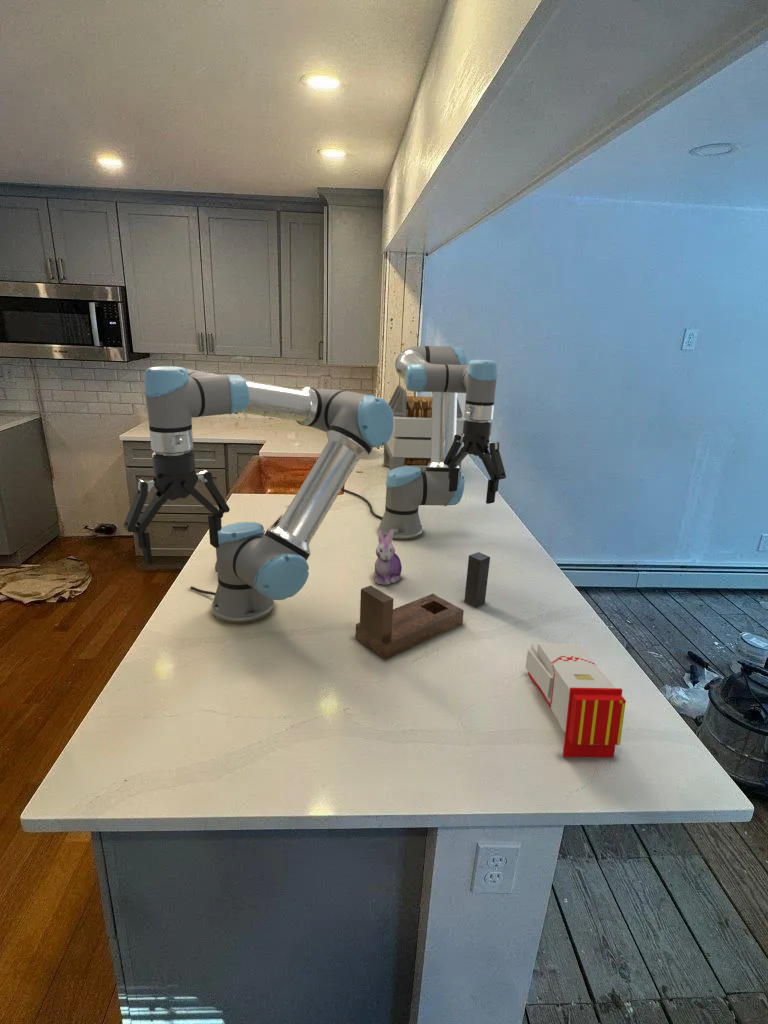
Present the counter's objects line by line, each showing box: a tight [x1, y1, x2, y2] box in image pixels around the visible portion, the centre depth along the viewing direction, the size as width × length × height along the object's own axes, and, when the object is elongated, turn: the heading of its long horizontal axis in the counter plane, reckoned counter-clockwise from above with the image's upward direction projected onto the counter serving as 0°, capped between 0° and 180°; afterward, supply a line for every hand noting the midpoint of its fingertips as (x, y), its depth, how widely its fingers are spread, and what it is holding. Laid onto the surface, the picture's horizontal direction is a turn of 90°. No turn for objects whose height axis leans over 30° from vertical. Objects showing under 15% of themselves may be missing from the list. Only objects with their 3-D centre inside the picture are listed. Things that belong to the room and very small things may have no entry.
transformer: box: [383, 384, 466, 472], centre depth 268 cm, size 34×33×41 cm
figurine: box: [373, 529, 403, 586], centre depth 164 cm, size 9×10×15 cm
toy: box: [525, 642, 627, 759], centre depth 113 cm, size 12×13×30 cm
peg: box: [463, 551, 491, 609], centre depth 153 cm, size 4×4×14 cm
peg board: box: [354, 585, 465, 661], centre depth 138 cm, size 11×26×14 cm, turn 131°
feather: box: [268, 513, 284, 529], centre depth 208 cm, size 2×28×2 cm
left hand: (182, 553), depth 115 cm, fingers open, 13 cm apart
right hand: (470, 496), depth 157 cm, fingers open, 13 cm apart
